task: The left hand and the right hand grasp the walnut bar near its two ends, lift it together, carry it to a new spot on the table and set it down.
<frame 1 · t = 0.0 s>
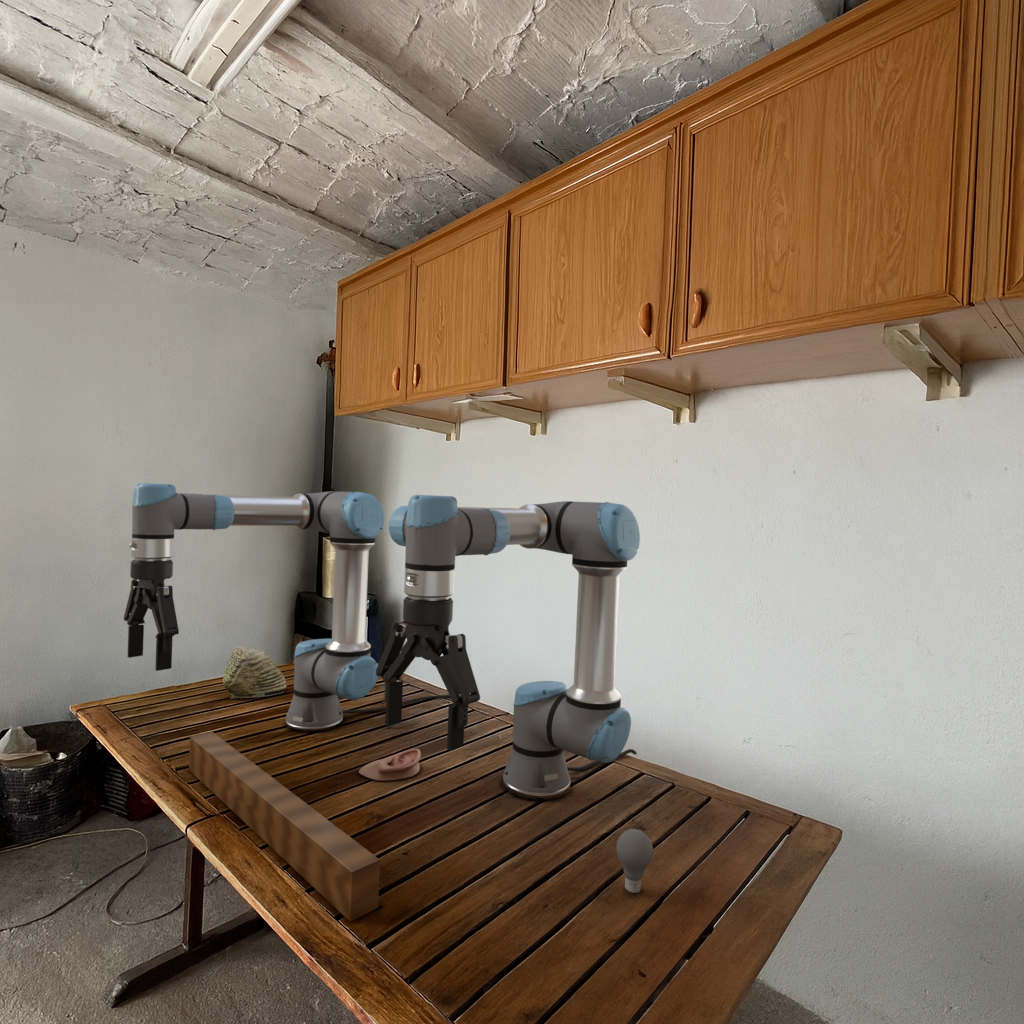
left hand: (148, 662, 129), 28 cm above the table, tool pointing down, fingers open, 13 cm apart
right hand: (422, 735, 96), 28 cm above the table, tool pointing down, fingers open, 13 cm apart
fossil: (254, 694, 198), on the table
light bulb: (632, 891, 106), on the table
bar: (265, 826, 121), on the table
anatomical model: (390, 771, 147), on the table
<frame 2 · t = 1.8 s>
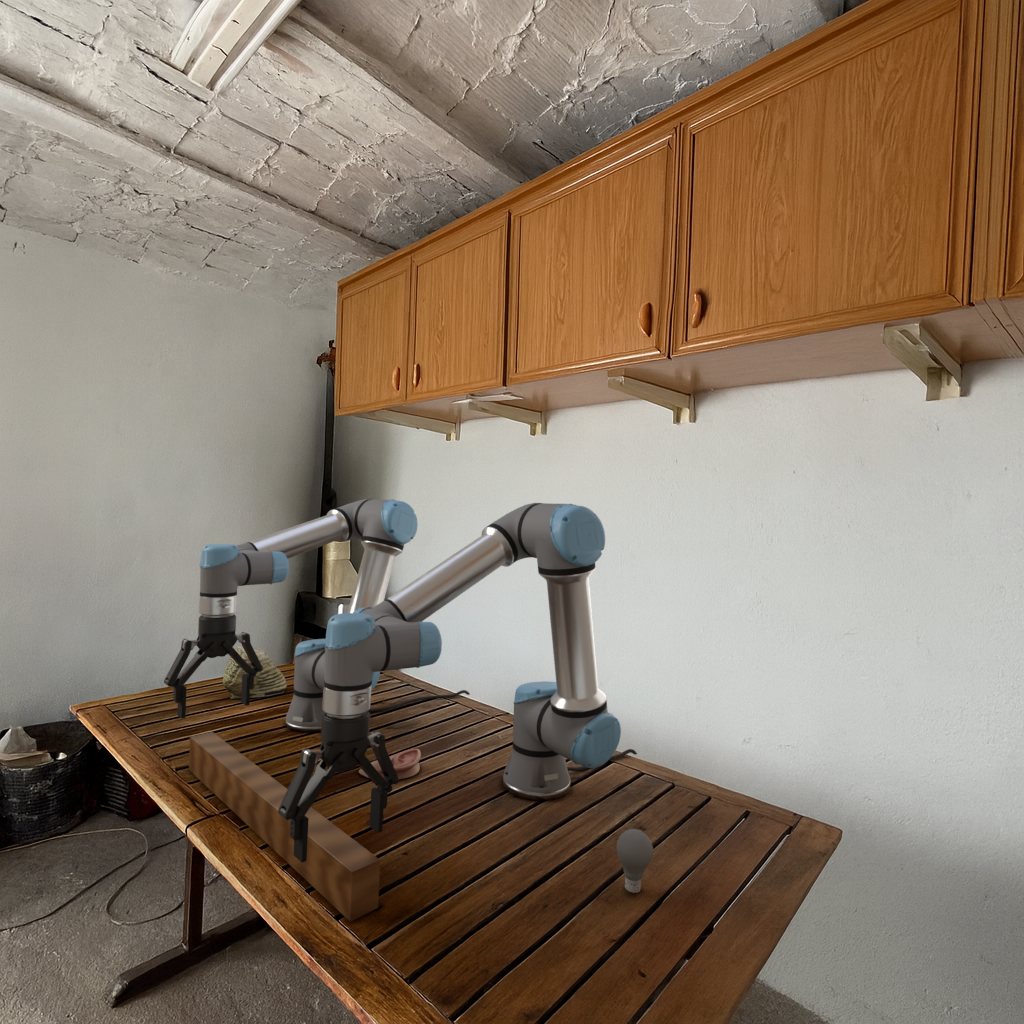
left hand: (214, 710, 140), 15 cm above the table, tool pointing down, fingers open, 13 cm apart
right hand: (339, 843, 102), 8 cm above the table, tool pointing down, fingers open, 13 cm apart
nothing on the table moved.
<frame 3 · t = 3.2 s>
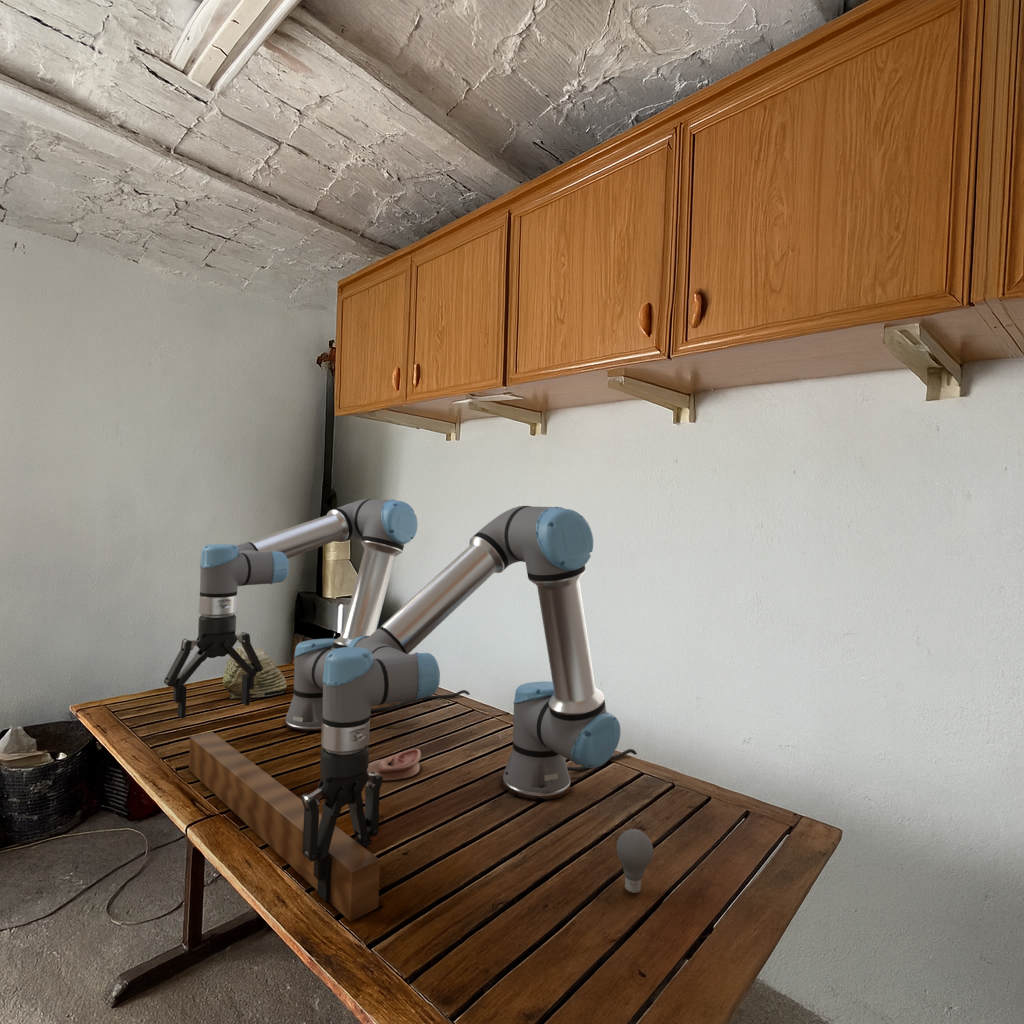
left hand: (214, 710, 140), 15 cm above the table, tool pointing down, fingers open, 13 cm apart
right hand: (339, 889, 102), 1 cm above the table, tool pointing down, fingers closed on bar, 5 cm apart
bar: (265, 826, 121), on the table, touching right hand
everything else where it was.
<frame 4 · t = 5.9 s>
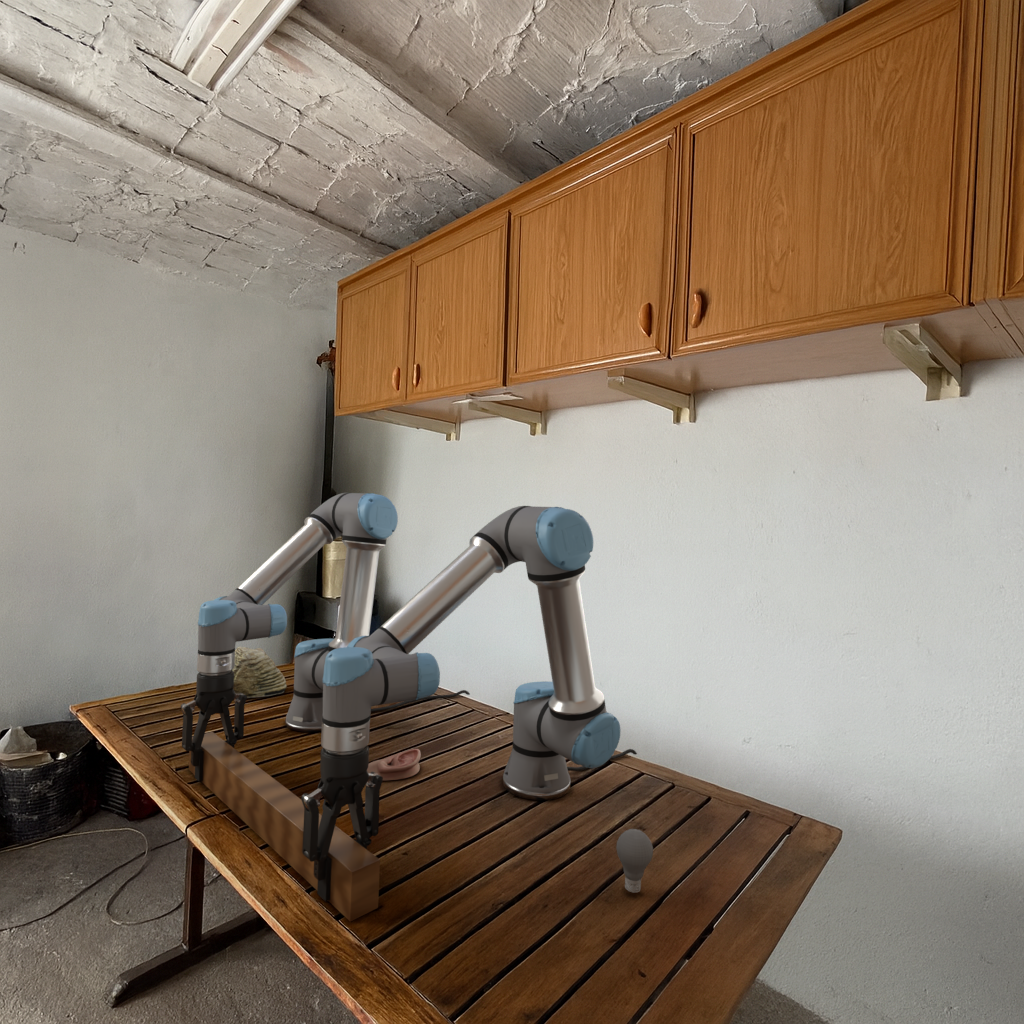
left hand: (212, 775, 140), 1 cm above the table, tool pointing down, fingers closed on bar, 5 cm apart
right hand: (339, 889, 102), 1 cm above the table, tool pointing down, fingers closed on bar, 5 cm apart
bar: (265, 826, 121), on the table, touching left hand, right hand
everything else where it was.
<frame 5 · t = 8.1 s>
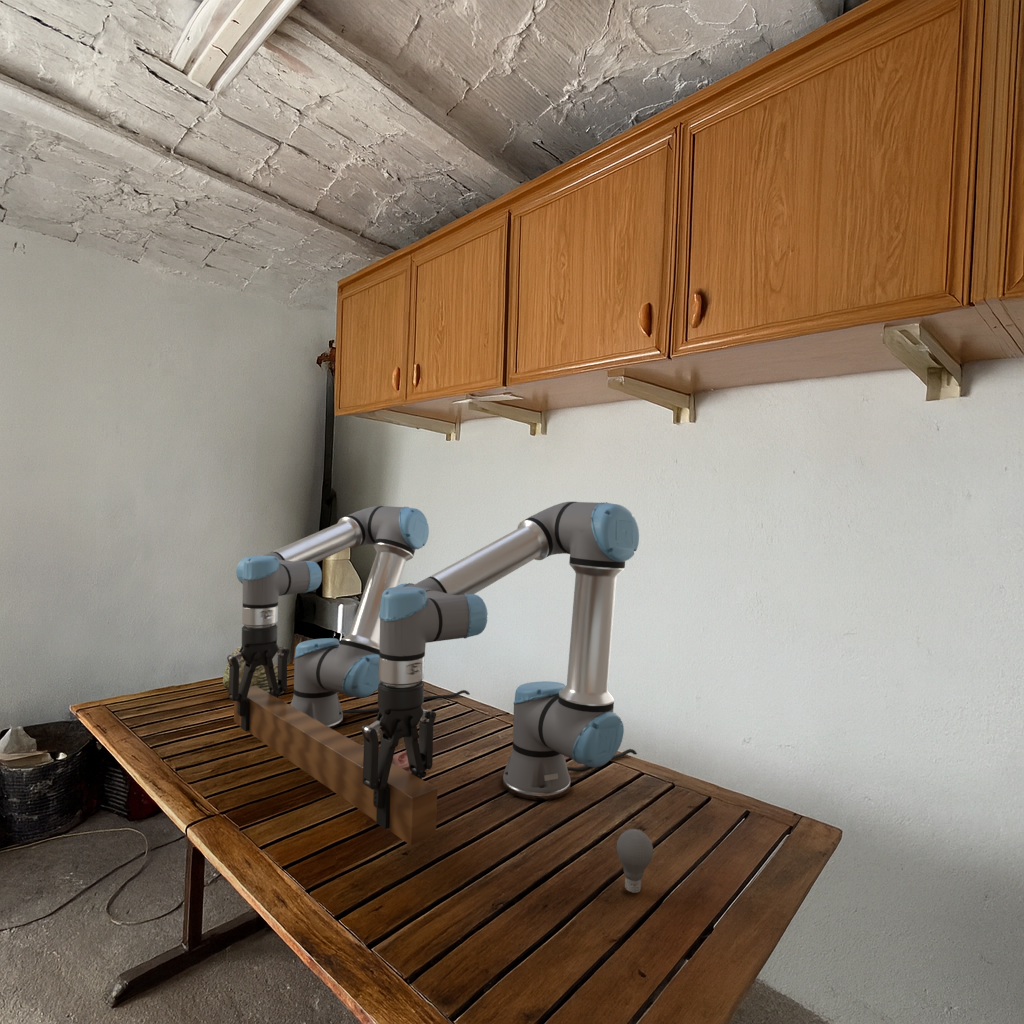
left hand: (257, 725, 144), 11 cm above the table, tool pointing down, fingers closed on bar, 5 cm apart
right hand: (397, 818, 106), 10 cm above the table, tool pointing down, fingers closed on bar, 5 cm apart
bar: (316, 768, 125), point 10 cm above the table, touching left hand, right hand
everything else where it was.
when the left hand's fingers open (2 cm above the table, at t = 10.2 s): bar drops 1 cm, on the table.
when the right hand's fingers open (2 cm above the table, at t = 10.2 s): bar drops 1 cm, on the table.
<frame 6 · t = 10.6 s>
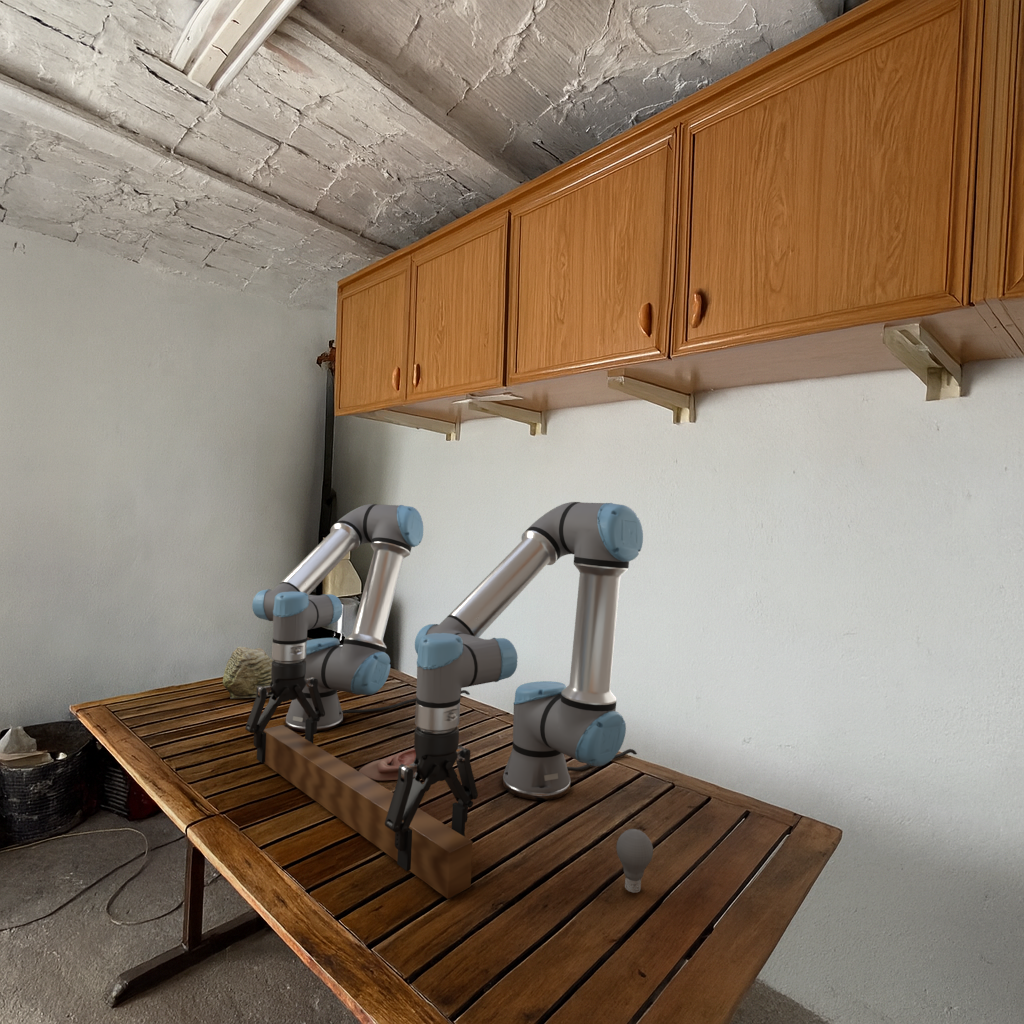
left hand: (285, 754, 146), 3 cm above the table, tool pointing down, fingers open, 11 cm apart
right hand: (431, 853, 108), 3 cm above the table, tool pointing down, fingers open, 11 cm apart
bar: (347, 812, 128), on the table
everything else where it was.
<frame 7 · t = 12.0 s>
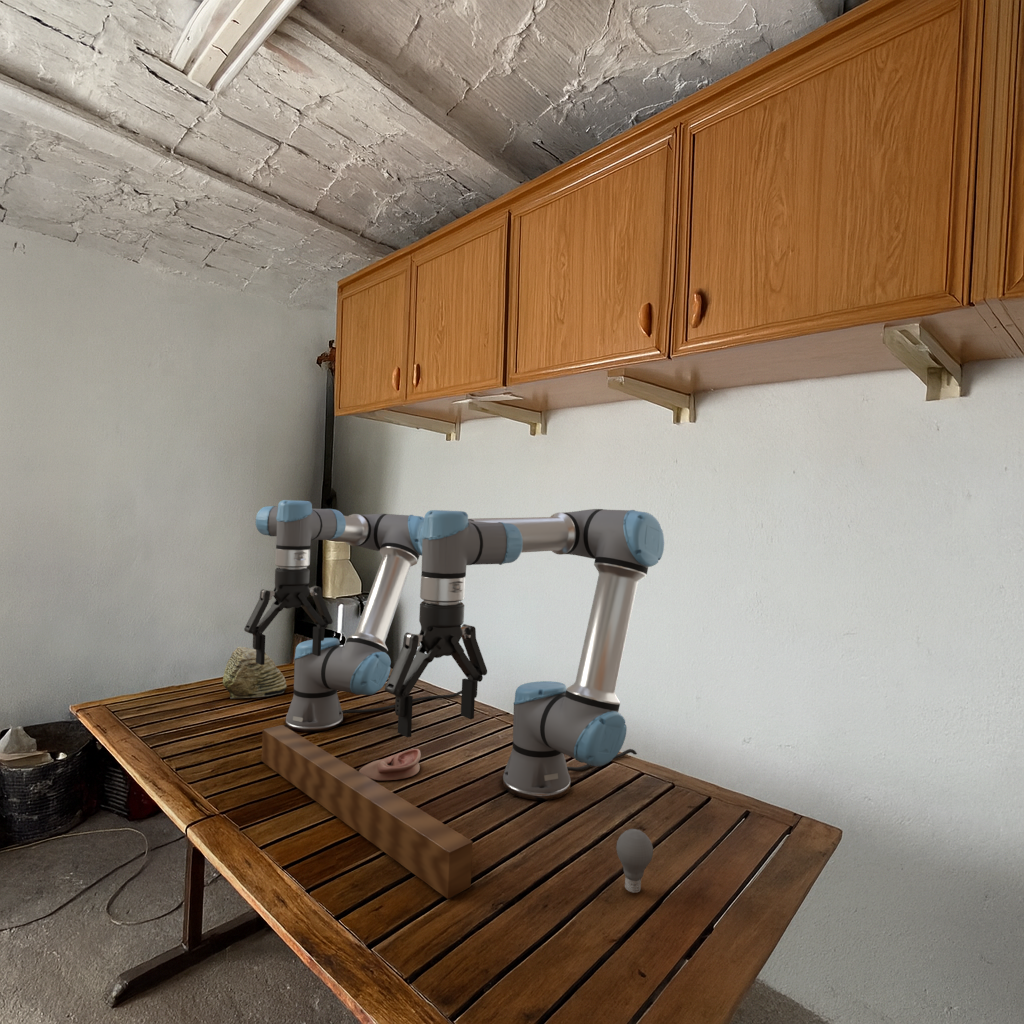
left hand: (289, 659, 146), 26 cm above the table, tool pointing down, fingers open, 13 cm apart
right hand: (437, 725, 108), 25 cm above the table, tool pointing down, fingers open, 13 cm apart
nothing on the table moved.
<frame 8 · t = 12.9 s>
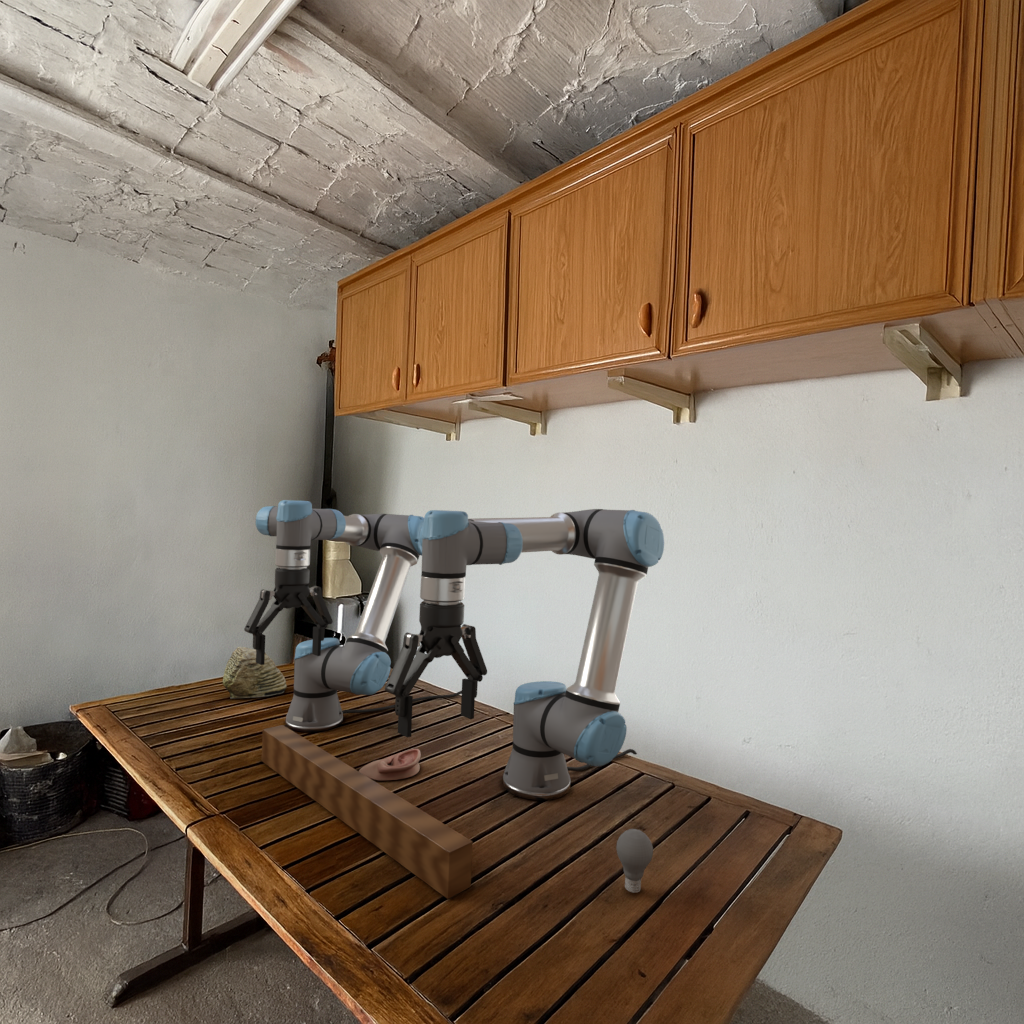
left hand: (289, 659, 146), 25 cm above the table, tool pointing down, fingers open, 13 cm apart
right hand: (437, 725, 108), 25 cm above the table, tool pointing down, fingers open, 13 cm apart
nothing on the table moved.
at the end: bar inside the target area (0.2 cm from its centre), on the table; bar tilted 0°; bar never tilted more than 2° during the clip; both hands held the bar at the same time; the left hand is holding nothing; the right hand is holding nothing; bar at rest at the end (0.0 cm/s) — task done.
